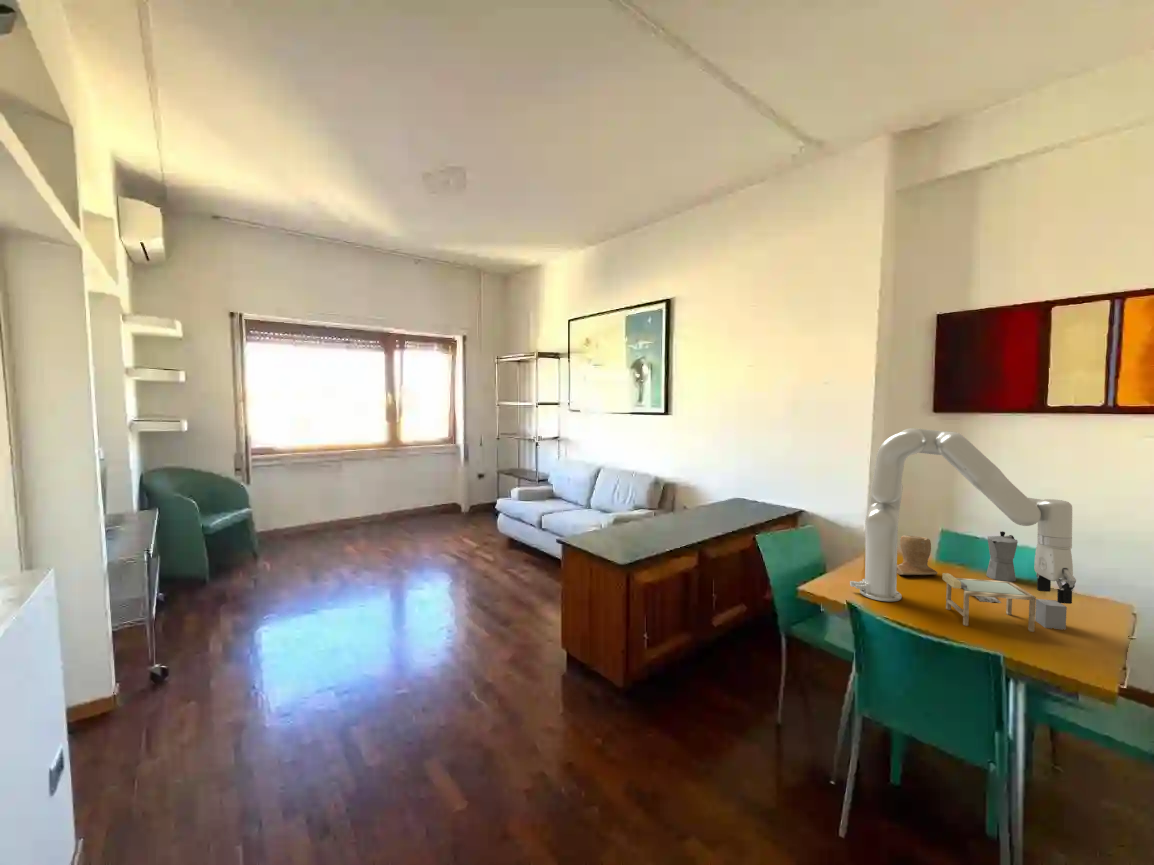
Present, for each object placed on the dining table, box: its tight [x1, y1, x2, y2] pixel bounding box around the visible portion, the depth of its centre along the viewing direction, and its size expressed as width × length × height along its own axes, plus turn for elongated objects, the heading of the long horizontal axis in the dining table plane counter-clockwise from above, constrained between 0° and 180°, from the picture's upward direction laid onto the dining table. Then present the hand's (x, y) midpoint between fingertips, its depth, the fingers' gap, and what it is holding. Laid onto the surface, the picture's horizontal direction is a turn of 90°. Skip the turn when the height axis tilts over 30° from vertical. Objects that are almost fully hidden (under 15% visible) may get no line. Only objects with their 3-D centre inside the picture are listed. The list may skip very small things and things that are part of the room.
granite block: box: [1035, 598, 1068, 631], centre depth 152 cm, size 5×5×7 cm
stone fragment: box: [974, 596, 1002, 604], centre depth 181 cm, size 25×3×10 cm
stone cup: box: [897, 534, 939, 576], centre depth 198 cm, size 15×12×15 cm
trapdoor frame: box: [945, 577, 1037, 633], centre depth 156 cm, size 18×13×10 cm
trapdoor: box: [941, 572, 1025, 595], centre depth 156 cm, size 18×10×3 cm, turn 74°
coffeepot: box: [986, 531, 1019, 583], centre depth 192 cm, size 15×9×18 cm, turn 118°
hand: (1053, 596), depth 151 cm, fingers open, 9 cm apart
